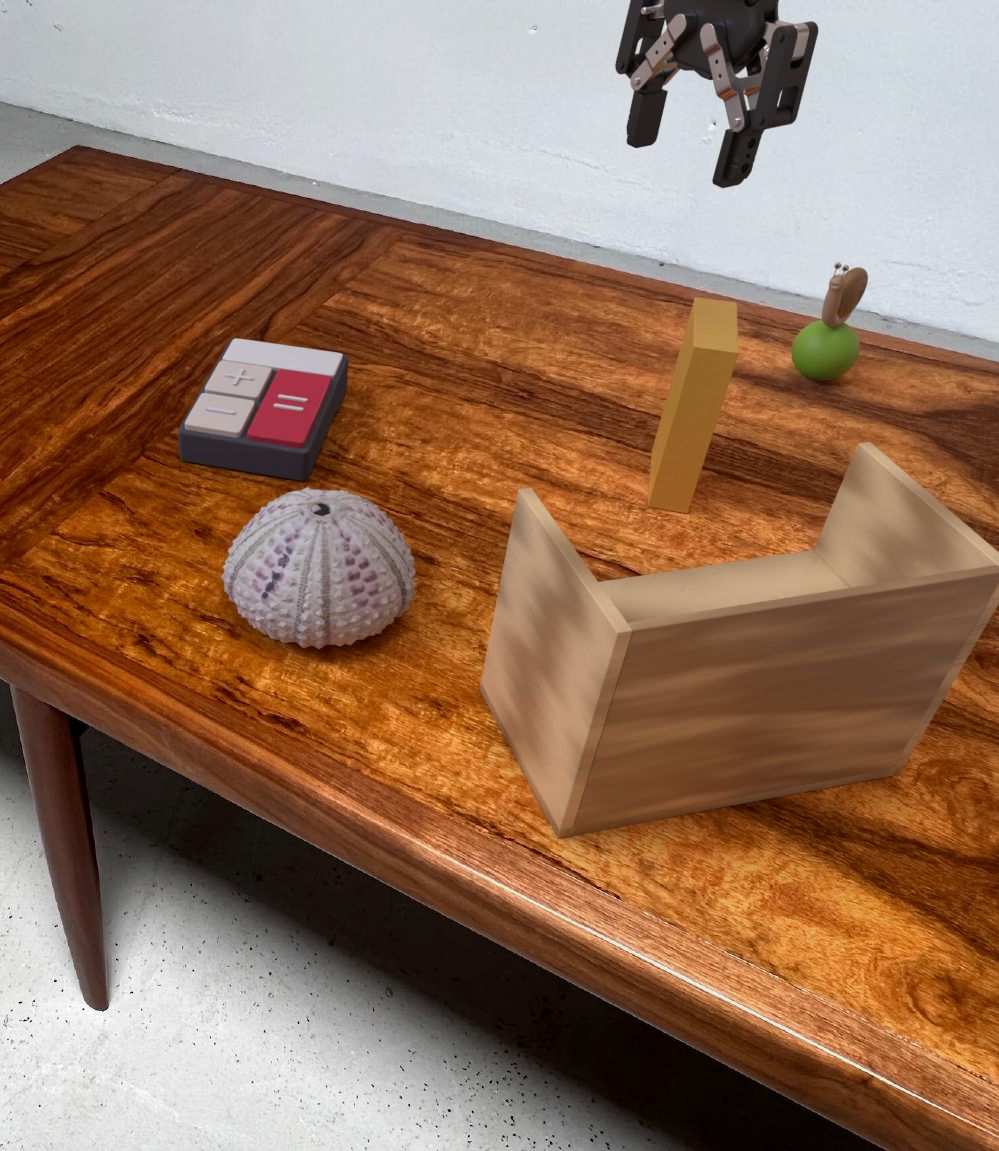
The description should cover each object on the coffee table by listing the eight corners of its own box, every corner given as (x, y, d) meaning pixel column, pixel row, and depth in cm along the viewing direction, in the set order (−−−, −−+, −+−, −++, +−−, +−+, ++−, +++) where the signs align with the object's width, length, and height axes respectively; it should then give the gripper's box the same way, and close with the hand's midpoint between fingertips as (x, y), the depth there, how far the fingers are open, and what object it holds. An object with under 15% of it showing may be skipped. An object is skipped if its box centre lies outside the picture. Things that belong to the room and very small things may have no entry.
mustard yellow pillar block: (647, 506, 88) (693, 346, 79) (651, 450, 94) (694, 295, 85) (687, 514, 87) (738, 352, 78) (689, 457, 93) (737, 301, 84)
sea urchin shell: (435, 654, 75) (449, 561, 70) (236, 675, 74) (235, 582, 69) (386, 533, 86) (396, 444, 80) (210, 550, 84) (208, 461, 79)
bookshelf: (478, 689, 73) (517, 488, 63) (785, 639, 76) (870, 441, 66) (557, 838, 64) (617, 632, 54) (900, 774, 67) (1019, 569, 57)
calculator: (175, 424, 91) (230, 330, 101) (178, 466, 93) (231, 371, 104) (308, 445, 88) (350, 346, 98) (306, 489, 91) (347, 388, 101)
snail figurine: (766, 379, 103) (809, 254, 95) (801, 355, 106) (845, 233, 98) (824, 402, 99) (873, 275, 92) (858, 377, 103) (908, 252, 95)
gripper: (891, -91, 64) (801, 190, 75) (711, -127, 74) (653, 125, 84) (793, -78, 62) (714, 210, 72) (620, -118, 72) (573, 141, 82)
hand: (681, 164), depth 78 cm, fingers open, 8 cm apart
